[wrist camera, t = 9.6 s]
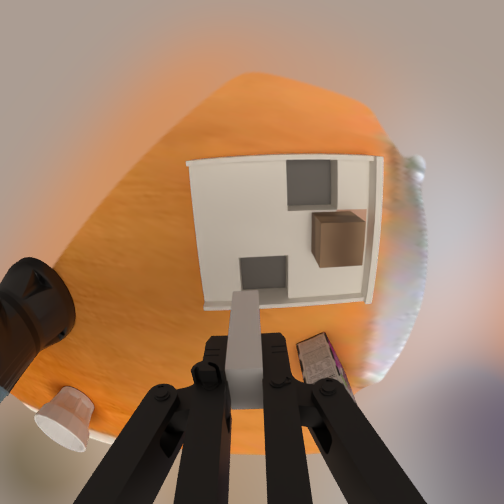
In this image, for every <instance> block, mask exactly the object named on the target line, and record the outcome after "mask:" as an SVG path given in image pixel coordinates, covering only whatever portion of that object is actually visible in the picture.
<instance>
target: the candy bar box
mask: <svg viewBox="0 0 504 504" xmlns="http://www.w3.org/2000/svg"><path fill="white" fill-rule="evenodd" d="M296 346H297V351H298V356H299V361H300V366H301V370H302V375H303V380H304V383H308V384H314V383H315V382H316V381H318V380H320V379H322V378H334V379H336V380H338V381H339V382H341V383H342V384H343V386H344V387H345V389H346V390H347V391H348V393H349V394H350V396H351V397H352V399H353V400H354V401H355V398H354V395H353V392H352V390H351V387H350V384H349V382H348V379H347V376H346V374H345V372H344V369H343V367H342V365H341V363H340V361H339V359H338V357H337V355H336V353H335V351H334V349H333V347H332V345H331V343H330V341H329V339H328V337H327V335H326V333H325V332H323V333H321V334H318V335H316V336H314V337H312V338H310V339H308V340H305V341H303V342H301V343H298V344H296ZM355 403H356V401H355ZM356 404H357V403H356Z"/></svg>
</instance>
